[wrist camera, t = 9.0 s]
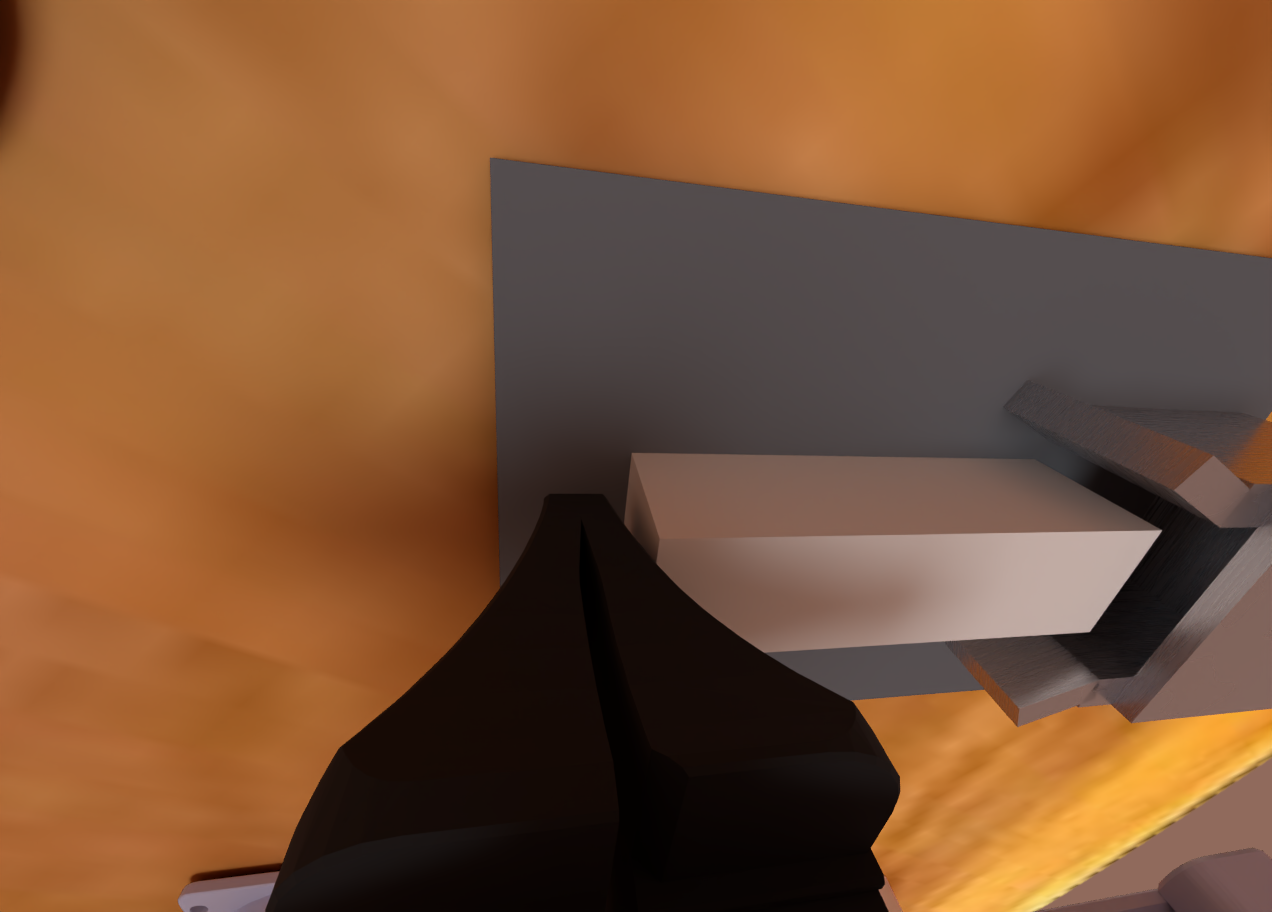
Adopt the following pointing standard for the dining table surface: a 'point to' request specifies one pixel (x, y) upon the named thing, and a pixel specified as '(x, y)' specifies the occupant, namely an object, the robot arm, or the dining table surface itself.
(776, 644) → the pale grey rectangular bar
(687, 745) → the robot arm
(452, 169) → the dining table surface
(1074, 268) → the mat
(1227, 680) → the end cap
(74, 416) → the dining table surface
